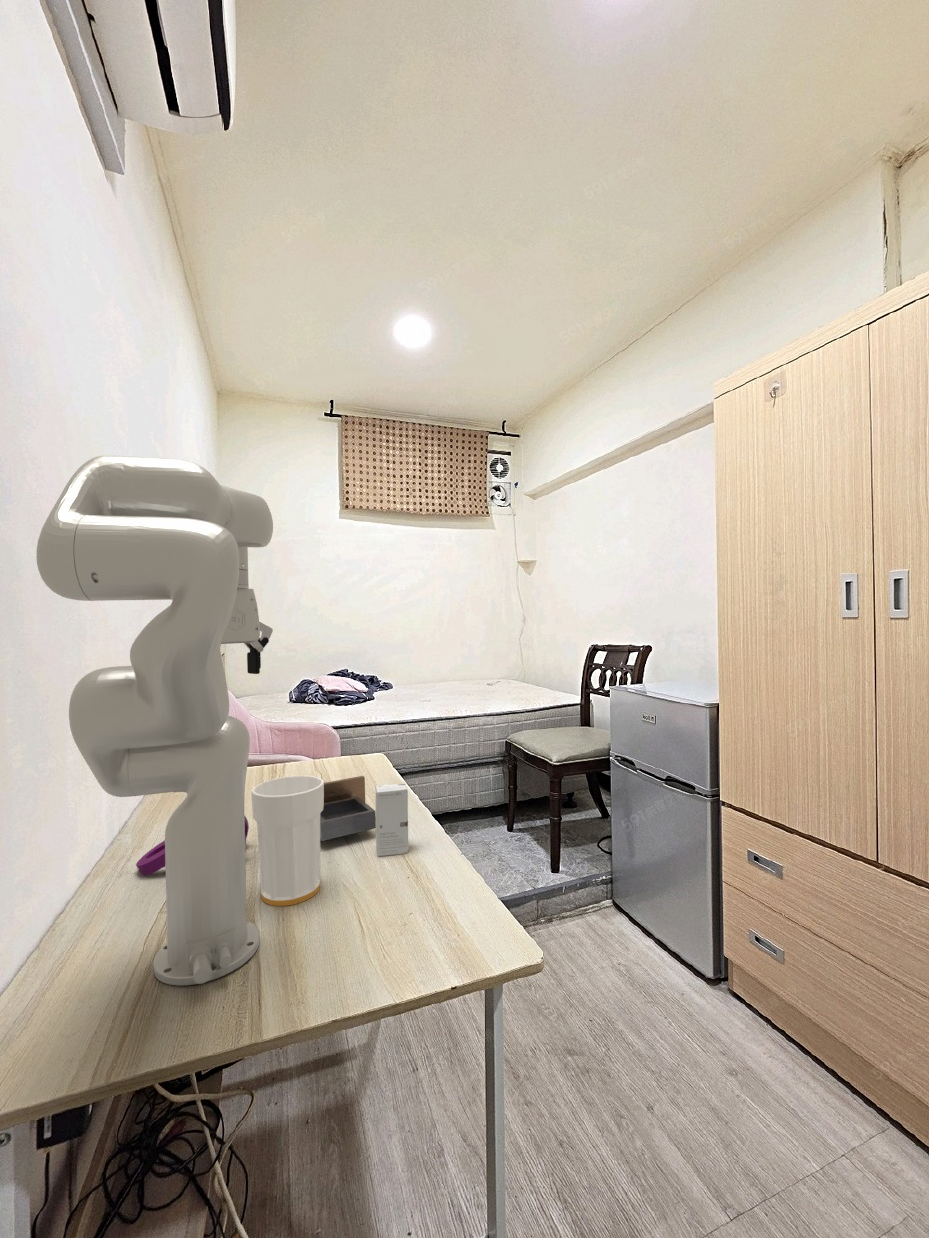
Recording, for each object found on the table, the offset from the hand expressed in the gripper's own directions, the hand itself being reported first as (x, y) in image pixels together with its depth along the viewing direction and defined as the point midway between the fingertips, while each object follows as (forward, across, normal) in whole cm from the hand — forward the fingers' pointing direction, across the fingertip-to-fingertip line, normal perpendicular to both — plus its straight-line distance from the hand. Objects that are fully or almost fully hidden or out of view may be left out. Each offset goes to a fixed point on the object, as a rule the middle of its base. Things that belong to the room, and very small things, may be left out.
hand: (228, 676), depth 92 cm
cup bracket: (+35, +22, -2) cm, 42 cm away
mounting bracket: (+36, -2, +10) cm, 37 cm away
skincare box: (+35, +22, -17) cm, 45 cm away
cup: (+35, +2, -15) cm, 38 cm away
